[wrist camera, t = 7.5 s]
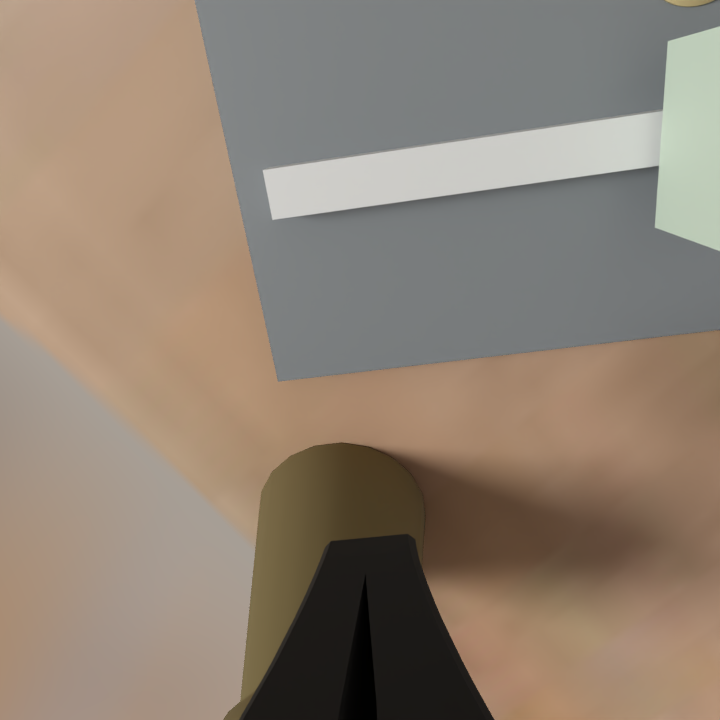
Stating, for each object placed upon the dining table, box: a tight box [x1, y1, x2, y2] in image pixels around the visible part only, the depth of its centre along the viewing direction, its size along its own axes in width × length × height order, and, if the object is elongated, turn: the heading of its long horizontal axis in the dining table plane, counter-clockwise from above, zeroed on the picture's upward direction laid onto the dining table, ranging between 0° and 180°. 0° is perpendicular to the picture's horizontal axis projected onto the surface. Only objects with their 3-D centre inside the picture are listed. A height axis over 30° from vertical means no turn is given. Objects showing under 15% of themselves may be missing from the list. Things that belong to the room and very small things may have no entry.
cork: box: [224, 443, 425, 720], centre depth 15 cm, size 6×6×11 cm
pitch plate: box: [195, 0, 720, 381], centre depth 12 cm, size 12×22×6 cm, turn 98°
